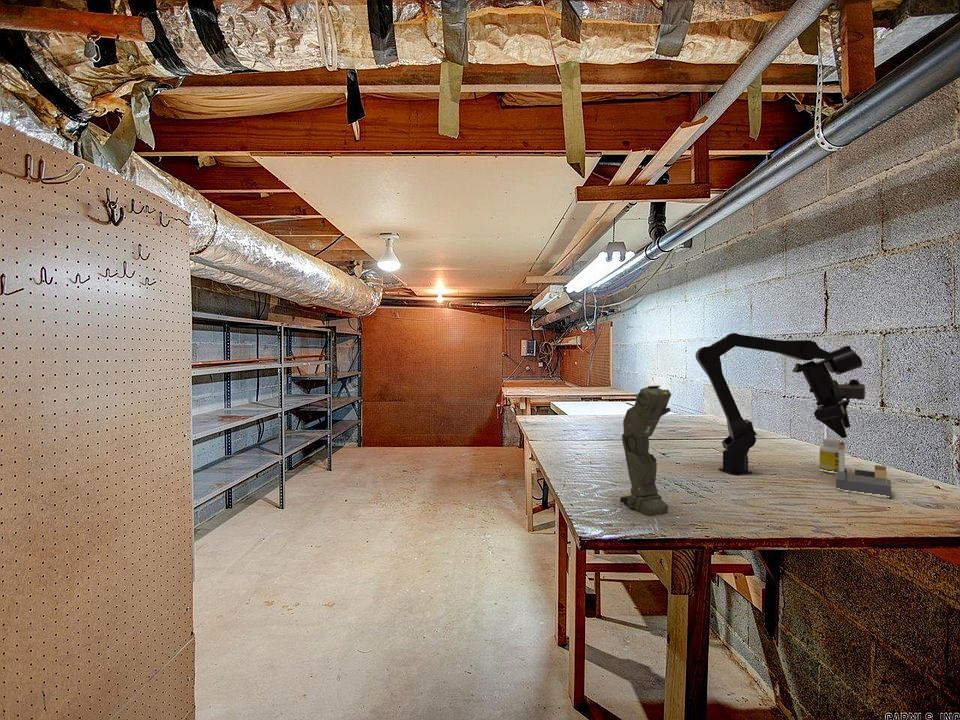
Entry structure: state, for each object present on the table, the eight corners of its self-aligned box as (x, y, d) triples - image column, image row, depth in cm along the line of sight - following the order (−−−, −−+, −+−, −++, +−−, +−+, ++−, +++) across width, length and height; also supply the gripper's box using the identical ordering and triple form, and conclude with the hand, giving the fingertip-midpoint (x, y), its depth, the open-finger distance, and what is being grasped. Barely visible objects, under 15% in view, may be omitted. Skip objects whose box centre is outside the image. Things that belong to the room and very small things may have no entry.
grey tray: (835, 490, 114) (835, 465, 114) (838, 483, 120) (837, 460, 120) (891, 499, 107) (891, 472, 107) (890, 491, 113) (890, 466, 113)
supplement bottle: (837, 475, 128) (837, 442, 128) (816, 471, 133) (815, 439, 133) (846, 473, 131) (846, 440, 131) (824, 469, 136) (824, 437, 136)
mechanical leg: (606, 494, 111) (624, 379, 104) (629, 490, 114) (648, 378, 107) (643, 526, 99) (666, 398, 92) (669, 521, 101) (693, 397, 94)
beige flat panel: (838, 477, 115) (838, 444, 115) (839, 473, 119) (839, 441, 119) (844, 478, 115) (844, 445, 115) (845, 474, 118) (845, 442, 118)
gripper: (851, 379, 114) (880, 436, 112) (857, 365, 127) (884, 415, 125) (802, 392, 122) (829, 445, 120) (812, 377, 135) (837, 425, 133)
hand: (846, 432), depth 124 cm, fingers open, 9 cm apart
